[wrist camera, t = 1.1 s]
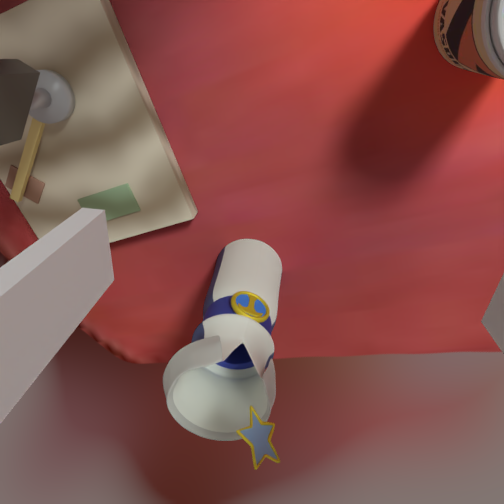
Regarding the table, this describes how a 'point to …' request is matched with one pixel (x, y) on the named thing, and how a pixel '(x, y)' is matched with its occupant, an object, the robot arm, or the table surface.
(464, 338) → the table surface
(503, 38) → the coffee cup
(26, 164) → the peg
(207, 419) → the water bottle
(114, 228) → the dial board
